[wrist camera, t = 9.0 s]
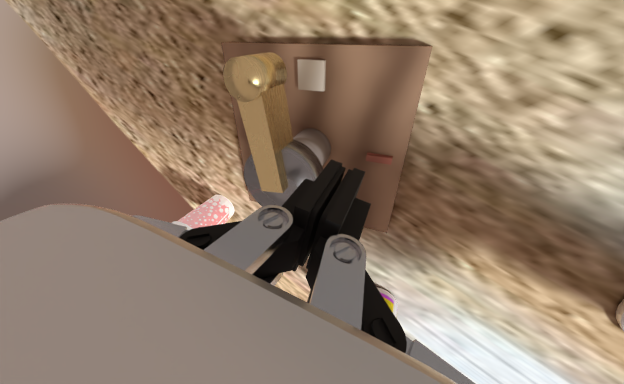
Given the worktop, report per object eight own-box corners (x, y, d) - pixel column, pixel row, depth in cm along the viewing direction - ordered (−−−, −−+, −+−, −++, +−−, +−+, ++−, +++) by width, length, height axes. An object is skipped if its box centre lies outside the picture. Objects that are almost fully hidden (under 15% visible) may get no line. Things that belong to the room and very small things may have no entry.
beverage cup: (203, 188, 40) (124, 246, 30) (233, 193, 38) (160, 257, 28) (213, 216, 44) (146, 278, 33) (241, 222, 42) (179, 289, 31)
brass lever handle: (229, 57, 19) (192, 63, 15) (310, 46, 16) (285, 49, 13) (267, 198, 25) (246, 221, 22) (327, 205, 23) (313, 232, 20)
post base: (431, 45, 20) (436, 51, 14) (387, 225, 31) (381, 266, 26) (230, 42, 26) (179, 45, 20) (255, 194, 37) (226, 223, 31)
